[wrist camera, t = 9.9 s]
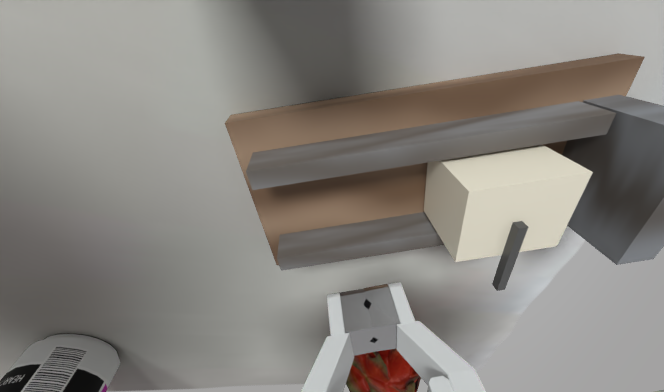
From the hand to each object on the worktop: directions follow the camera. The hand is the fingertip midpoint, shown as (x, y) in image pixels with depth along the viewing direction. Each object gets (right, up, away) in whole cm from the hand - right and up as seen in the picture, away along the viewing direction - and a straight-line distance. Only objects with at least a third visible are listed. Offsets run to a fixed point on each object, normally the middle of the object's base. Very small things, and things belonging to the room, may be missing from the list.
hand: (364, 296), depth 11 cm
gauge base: (+5, +6, +9) cm, 12 cm away
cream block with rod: (+8, +4, +8) cm, 12 cm away
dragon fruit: (+4, -10, +20) cm, 22 cm away
